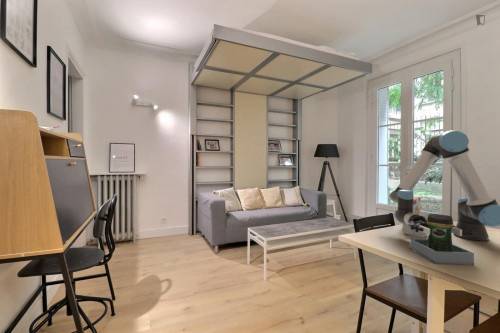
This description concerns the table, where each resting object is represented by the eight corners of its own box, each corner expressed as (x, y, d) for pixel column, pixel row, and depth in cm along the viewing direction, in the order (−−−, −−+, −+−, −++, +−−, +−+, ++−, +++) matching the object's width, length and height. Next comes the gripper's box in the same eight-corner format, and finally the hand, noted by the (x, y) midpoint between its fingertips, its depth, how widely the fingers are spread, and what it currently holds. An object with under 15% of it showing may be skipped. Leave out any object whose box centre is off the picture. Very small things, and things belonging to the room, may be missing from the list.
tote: (443, 249, 118) (443, 239, 118) (473, 264, 100) (474, 253, 100) (410, 248, 119) (410, 238, 119) (435, 263, 101) (435, 251, 101)
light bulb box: (427, 235, 141) (428, 217, 141) (423, 237, 137) (423, 219, 137) (407, 231, 150) (408, 214, 150) (402, 233, 146) (403, 215, 146)
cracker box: (412, 231, 151) (413, 198, 150) (402, 229, 156) (402, 197, 155) (420, 227, 159) (421, 196, 159) (410, 226, 164) (410, 195, 164)
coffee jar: (454, 254, 109) (454, 214, 109) (452, 259, 103) (453, 217, 103) (428, 249, 116) (428, 211, 116) (425, 253, 110) (425, 214, 110)
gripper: (439, 228, 127) (474, 241, 105) (391, 227, 128) (415, 239, 107) (440, 214, 126) (474, 224, 105) (391, 213, 128) (416, 223, 107)
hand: (445, 232), depth 106 cm, fingers open, 13 cm apart
